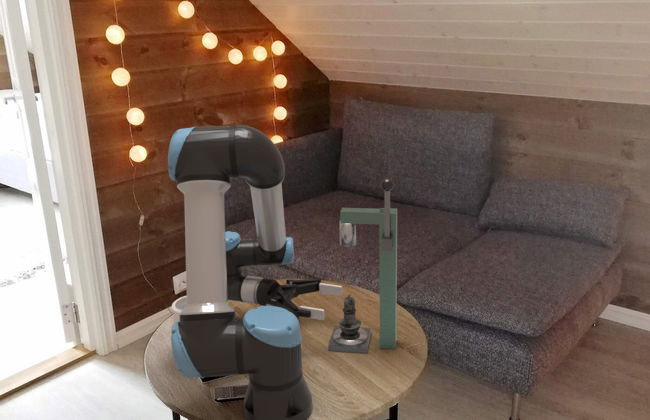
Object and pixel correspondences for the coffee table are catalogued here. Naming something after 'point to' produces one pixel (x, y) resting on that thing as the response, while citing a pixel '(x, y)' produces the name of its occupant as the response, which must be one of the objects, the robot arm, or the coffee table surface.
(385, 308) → the arbor press
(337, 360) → the coffee table surface
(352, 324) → the dark chess piece
